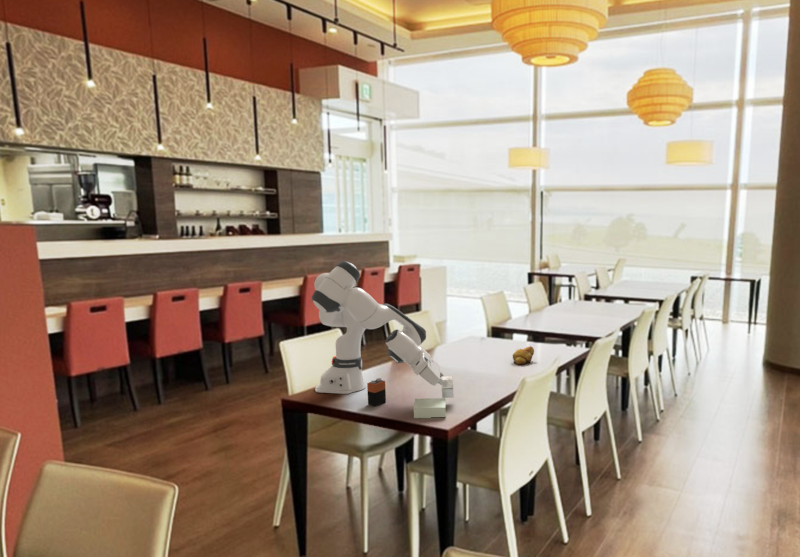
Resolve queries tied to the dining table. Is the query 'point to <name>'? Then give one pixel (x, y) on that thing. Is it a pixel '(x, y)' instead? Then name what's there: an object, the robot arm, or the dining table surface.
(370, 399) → the battery
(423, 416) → the stand
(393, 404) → the dining table surface
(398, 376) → the dining table surface
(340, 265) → the robot arm
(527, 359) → the bread roll
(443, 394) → the block
